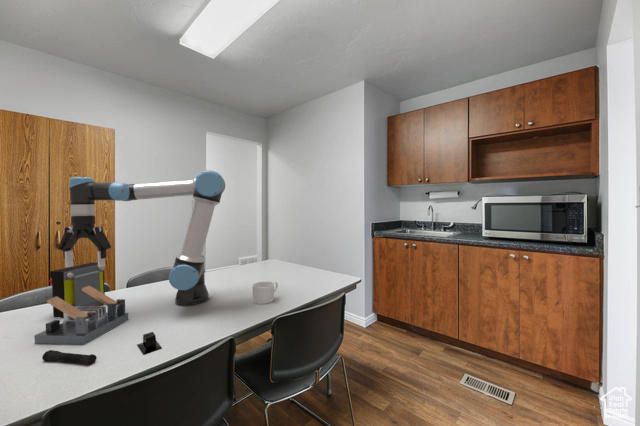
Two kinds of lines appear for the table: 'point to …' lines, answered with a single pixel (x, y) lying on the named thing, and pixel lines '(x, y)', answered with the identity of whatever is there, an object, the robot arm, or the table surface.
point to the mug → (264, 292)
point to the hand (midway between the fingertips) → (85, 266)
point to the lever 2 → (98, 295)
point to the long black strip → (68, 357)
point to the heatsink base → (84, 325)
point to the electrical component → (77, 285)
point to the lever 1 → (66, 308)
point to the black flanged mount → (149, 344)
